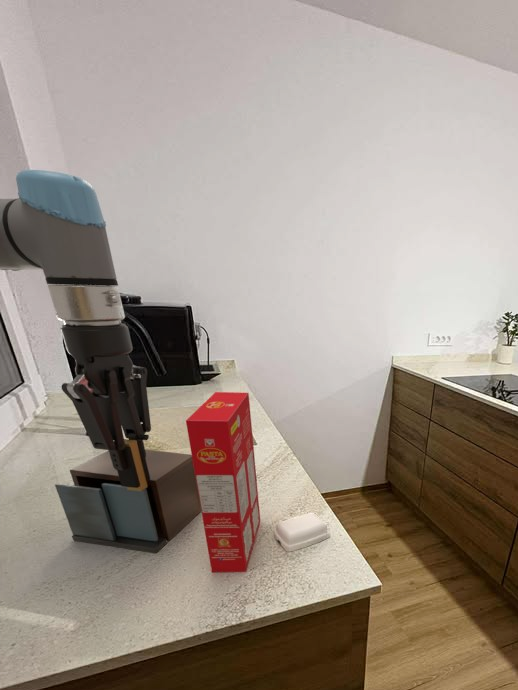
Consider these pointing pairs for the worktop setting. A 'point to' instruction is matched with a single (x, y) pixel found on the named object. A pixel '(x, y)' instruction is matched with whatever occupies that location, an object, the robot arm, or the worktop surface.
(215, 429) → the food packaging
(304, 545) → the soap
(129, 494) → the grey door panel
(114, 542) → the cabinet
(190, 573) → the worktop surface
